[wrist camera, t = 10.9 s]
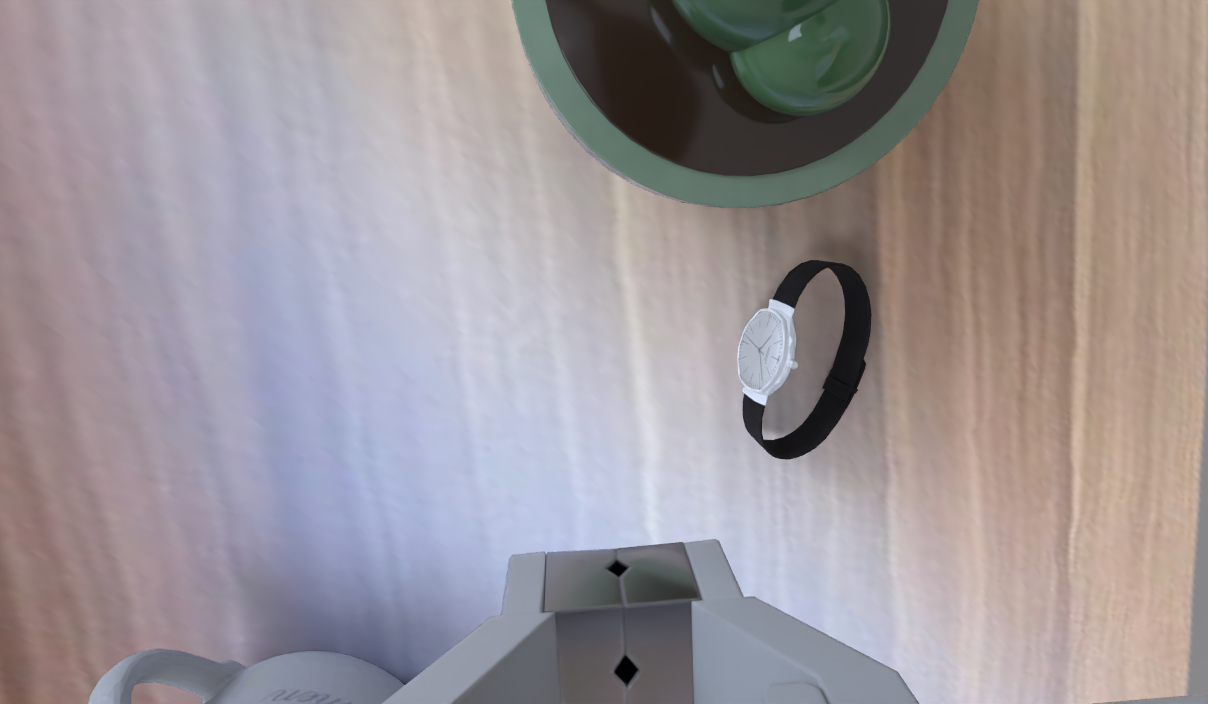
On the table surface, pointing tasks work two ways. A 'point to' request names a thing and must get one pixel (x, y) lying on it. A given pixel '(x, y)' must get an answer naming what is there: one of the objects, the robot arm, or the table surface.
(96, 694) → the teacup
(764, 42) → the plant pot
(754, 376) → the watch
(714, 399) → the table surface
